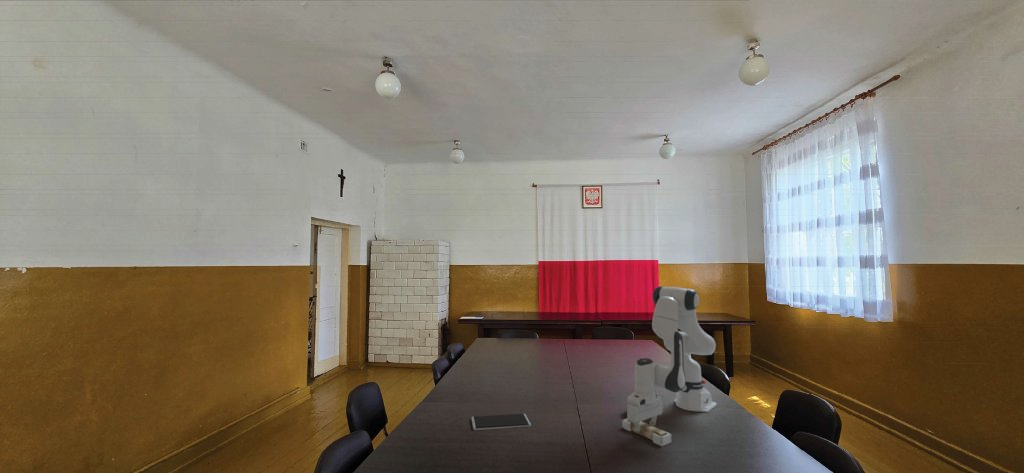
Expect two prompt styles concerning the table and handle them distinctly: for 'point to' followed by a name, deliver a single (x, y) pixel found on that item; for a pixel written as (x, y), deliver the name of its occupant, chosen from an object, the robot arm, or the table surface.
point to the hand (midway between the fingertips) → (645, 428)
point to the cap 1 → (626, 425)
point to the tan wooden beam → (647, 430)
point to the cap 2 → (662, 439)
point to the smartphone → (499, 421)
